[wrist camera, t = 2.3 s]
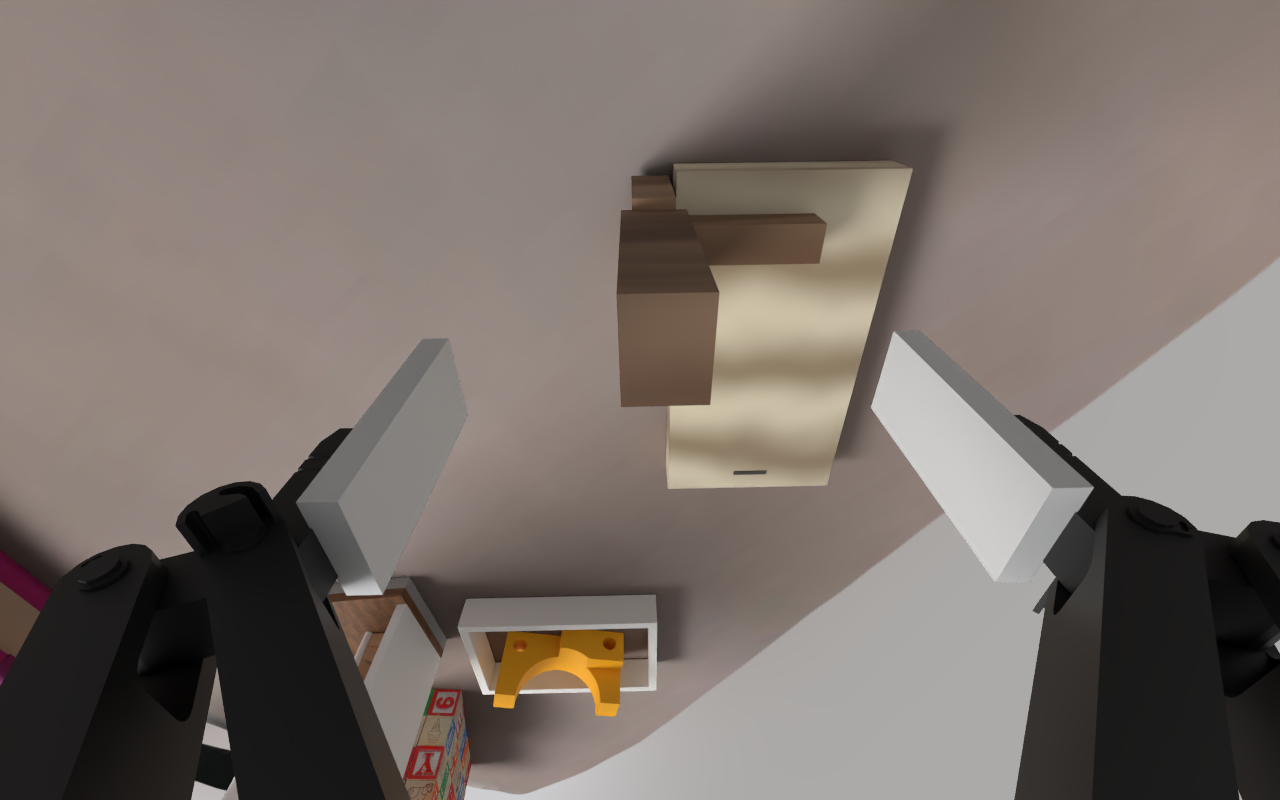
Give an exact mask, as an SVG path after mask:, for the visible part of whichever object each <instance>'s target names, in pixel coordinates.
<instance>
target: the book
mask: <svg viewBox="0 0 1280 800" xmlns="http://www.w3.org/2000/svg"><path fill="white" fill-rule="evenodd" d="M51 592H52V591H51V590H50V589H49V588H48V587H46V586H45V585H44V584H43V583H41V582H40V581H39V580H38V579H36V578H35V577H34V576H32V575H31V574H30V573H29V572H27V571H26V570H25V569H24V568H22V567H21V566H20V565H19V564H17V563H16V562H15V561H14V560H12V559H11V558H10V557H9V556H7V555H6V554H5V553H4V552H2V551H1V550H0V685H1V684H2V682H3V680H4V678H5V676H6V674H7V673H8V671H9V669H10V667H11V665H12V663H13V662H14V660H15V658H16V656H17V654H18V652H19V651H20V649H21V647H22V645H23V643H24V641H25V639H26V638H27V636H28V634H29V632H30V630H31V628H32V627H33V625H34V623H35V621H36V619H37V617H38V616H39V614H40V612H41V610H42V608H43V606H44V605H45V603H46V601H47V599H48V597H49V595H50V593H51Z"/></svg>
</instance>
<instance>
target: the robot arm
mask: <svg viewBox="0 0 1280 800" xmlns="http://www.w3.org/2000/svg"><path fill="white" fill-rule="evenodd" d="M871 409H872V410H873V411H874V413H875V414H876V416H877V417H878V418H879V420H880V421H881V423H882V424H883V425H884V427H885V428H886V430H887V431H888V432H889V434H890V435H891V437H892V438H893V440H894V441H895V442H896V444H897V445H898V447H899V448H900V449H901V451H902V452H903V454H904V455H905V456H906V458H907V459H908V461H909V462H910V463H911V465H912V466H913V468H914V469H915V470H916V472H917V473H918V475H919V476H920V477H921V479H922V480H923V482H924V483H925V484H926V486H927V487H928V489H929V490H930V491H931V493H932V494H933V496H934V497H935V498H936V500H937V501H938V503H939V504H940V505H941V507H942V508H943V510H944V511H945V513H946V514H947V515H948V517H949V518H950V520H951V521H952V522H953V524H954V525H955V527H956V528H957V529H958V531H959V532H960V534H961V535H962V536H963V538H964V539H965V541H966V542H967V543H968V545H969V546H970V547H971V549H972V550H973V552H974V553H975V555H976V556H977V557H978V559H979V560H980V562H981V563H982V564H983V566H984V567H985V569H986V570H987V571H988V573H989V574H990V576H991V577H992V579H993V580H994V581H995V582H1031V581H1032V579H1033V577H1034V576H1035V575H1036V573H1037V572H1038V570H1039V569H1040V567H1041V566H1042V564H1043V563H1045V564H1046V565H1047V567H1048V568H1049V569H1050V570H1051V572H1052V573H1053V574H1054V575H1055V576H1056V578H1055V579H1054V581H1053V582H1052V584H1051V585H1050V586H1049V588H1048V589H1047V591H1046V592H1045V593H1044V595H1043V596H1042V598H1041V599H1040V600H1039V602H1038V603H1037V605H1036V606H1035V608H1034V609H1033V611H1034V612H1036V613H1038V614H1039V613H1040V612H1041V610H1042V609H1043V608H1045V612H1044V619H1043V625H1042V631H1041V637H1040V644H1039V650H1038V656H1037V662H1036V669H1035V675H1034V681H1033V687H1032V694H1031V700H1030V706H1029V712H1028V718H1027V725H1026V731H1025V737H1024V744H1023V750H1022V756H1021V762H1020V768H1019V775H1018V781H1017V787H1016V793H1015V799H1014V800H1239V793H1240V795H1241V797H1242V800H1280V653H1279V652H1278V650H1277V648H1276V646H1275V645H1274V644H1275V643H1276V642H1277V641H1279V640H1280V523H1279V522H1272V521H1265V520H1261V521H1254V522H1251V523H1250V524H1249V525H1248V526H1247V527H1246V528H1245V529H1244V530H1243V531H1242V532H1241V533H1240V534H1239V535H1238V536H1237V537H1236V538H1234V537H1229V536H1223V535H1219V534H1214V533H1209V532H1203V531H1198V530H1197V528H1195V526H1193V525H1192V524H1191V523H1190V522H1189V521H1188V520H1187V519H1186V518H1184V517H1183V516H1181V515H1180V514H1178V513H1176V512H1175V511H1173V510H1172V509H1170V508H1168V507H1165V506H1163V505H1161V504H1158V503H1156V502H1154V501H1151V500H1147V499H1143V498H1139V497H1135V496H1121V495H1120V494H1119V493H1118V492H1116V491H1115V490H1114V489H1113V488H1112V487H1111V486H1109V485H1108V484H1107V483H1106V482H1105V481H1104V480H1102V479H1101V478H1100V477H1099V476H1098V475H1097V474H1096V473H1094V472H1093V471H1092V470H1091V469H1090V468H1089V467H1087V466H1086V465H1085V464H1084V463H1083V462H1082V461H1081V460H1079V459H1078V458H1077V457H1076V456H1072V453H1071V452H1070V451H1069V450H1068V449H1067V448H1065V447H1064V446H1063V445H1062V444H1059V443H1058V442H1059V441H1058V440H1056V439H1055V438H1054V437H1053V436H1052V435H1051V434H1049V433H1048V432H1047V431H1046V430H1045V429H1044V428H1043V427H1041V426H1039V425H1037V424H1035V423H1034V422H1032V421H1030V420H1028V419H1026V418H1024V417H1022V416H1021V415H1013V414H1012V413H1011V412H1010V411H1009V410H1008V409H1006V408H1005V407H1004V406H1003V405H1002V404H1001V403H1000V402H999V401H998V400H996V399H995V398H994V397H993V396H992V395H991V394H990V393H989V392H988V391H986V390H985V389H984V388H983V387H982V386H981V385H980V384H979V383H978V382H976V381H975V380H974V379H973V378H972V377H971V376H970V375H969V374H967V373H966V372H965V371H964V370H963V369H962V368H961V367H960V366H959V365H957V364H956V363H955V362H954V361H953V360H952V359H951V358H950V357H949V356H947V355H946V354H945V353H944V352H943V351H942V350H941V349H940V348H939V347H937V346H936V345H935V344H934V343H933V342H932V341H931V340H930V339H929V338H927V337H926V336H925V335H924V334H923V333H922V332H921V331H920V330H919V331H894V332H893V336H892V339H891V342H890V346H889V349H888V352H887V356H886V359H885V362H884V366H883V369H882V372H881V376H880V379H879V383H878V386H877V389H876V393H875V396H874V399H873V403H872V406H871ZM467 416H468V413H467V409H466V405H465V401H464V397H463V393H462V389H461V385H460V381H459V377H458V373H457V369H456V365H455V361H454V357H453V353H452V349H451V345H450V341H449V338H445V339H422V340H421V342H420V343H419V344H418V346H417V347H416V348H415V350H414V351H413V352H412V353H411V355H410V356H409V357H408V359H407V360H406V361H405V362H404V364H403V365H402V366H401V368H400V369H399V370H398V371H397V373H396V374H395V375H394V377H393V378H392V379H391V380H390V382H389V383H388V384H387V386H386V387H385V388H384V389H383V391H382V392H381V393H380V395H379V396H378V397H377V398H376V400H375V401H374V402H373V404H372V405H371V406H370V407H369V409H368V410H367V411H366V413H365V414H364V415H363V416H362V418H361V419H360V420H359V422H358V423H357V424H356V425H355V427H354V428H342V429H339V430H337V431H336V432H334V433H333V434H331V435H330V436H329V437H327V438H326V439H324V440H323V441H321V442H320V443H319V445H318V446H317V447H316V448H315V449H314V451H313V452H312V453H311V454H310V455H309V459H308V460H305V461H304V462H303V464H302V465H301V466H300V467H299V468H298V472H295V473H294V474H293V476H292V477H291V478H290V479H289V480H288V482H287V483H286V484H285V485H284V486H283V488H282V489H281V490H280V491H279V492H278V494H277V495H276V496H275V497H274V498H273V500H272V499H271V497H270V495H269V494H268V492H267V490H266V489H265V488H264V487H263V486H262V485H261V484H260V483H255V482H251V481H247V482H236V483H232V484H228V485H225V486H221V487H218V488H216V489H214V490H212V491H210V492H208V493H205V494H203V495H201V496H200V497H199V498H197V499H196V500H194V501H193V502H192V503H190V504H189V505H187V506H186V508H185V509H184V510H183V511H182V512H181V513H180V515H179V516H178V519H177V522H176V527H177V529H178V530H179V531H180V533H181V534H182V535H183V536H184V538H185V539H186V540H187V542H188V543H189V544H190V546H191V547H192V548H193V550H194V551H193V552H189V553H185V554H181V555H177V556H173V557H169V558H165V559H161V560H159V559H158V557H157V556H156V555H155V554H154V553H153V551H152V550H151V549H149V548H148V547H147V546H146V545H140V544H129V545H124V546H119V547H115V548H112V549H109V550H107V551H104V552H101V553H99V554H96V555H94V556H92V557H90V558H89V559H87V560H85V561H83V562H82V563H80V564H79V565H77V566H76V567H75V568H73V569H72V570H71V571H70V572H68V573H67V574H66V575H65V576H63V577H62V578H61V580H60V581H59V582H58V583H57V585H56V586H55V587H54V588H53V590H52V592H51V593H50V595H49V597H48V599H47V601H46V603H45V605H44V606H43V608H42V610H41V612H40V614H39V616H38V617H37V619H36V621H35V623H34V625H33V627H32V628H31V630H30V632H29V634H28V636H27V638H26V639H25V641H24V643H23V645H22V647H21V649H20V651H19V652H18V654H17V656H16V658H15V660H14V662H13V663H12V665H11V667H10V669H9V671H8V673H7V674H6V676H5V678H4V680H3V682H2V684H1V685H0V800H191V797H192V792H193V787H194V782H195V777H196V771H197V766H198V761H199V756H200V751H201V746H202V741H203V736H204V730H205V725H206V720H207V715H208V710H209V705H210V700H211V695H212V689H213V684H214V679H215V674H216V669H217V668H218V674H219V681H220V687H221V693H222V699H223V706H224V712H225V718H226V724H227V731H228V737H229V743H230V749H231V756H232V762H233V768H234V774H235V780H236V787H237V793H238V799H239V800H411V799H410V797H409V794H408V792H407V789H406V787H405V784H404V782H403V779H402V777H401V774H400V772H399V769H398V767H397V764H396V762H395V759H394V757H393V754H392V752H391V749H390V747H389V744H388V742H387V739H386V737H385V734H384V732H383V729H382V727H381V724H380V722H379V719H378V717H377V714H376V712H375V709H374V706H373V704H372V701H371V699H370V696H369V694H368V691H367V689H366V686H365V684H364V681H363V679H362V676H361V674H360V671H359V669H358V666H357V664H356V661H355V659H354V656H353V654H352V651H351V649H350V646H349V644H348V641H347V639H346V636H345V634H344V631H343V629H342V626H341V624H340V621H339V619H338V616H337V614H336V611H335V609H334V606H333V604H332V602H331V600H330V598H329V597H328V593H329V591H330V590H331V588H332V586H333V584H334V583H335V581H336V579H338V581H339V583H340V584H341V586H342V588H343V590H344V592H345V594H346V595H347V596H351V595H383V593H384V591H385V589H386V587H387V585H388V583H389V580H390V578H391V576H392V574H393V572H394V570H395V568H396V566H397V564H398V561H399V559H400V557H401V555H402V553H403V551H404V549H405V547H406V545H407V543H408V540H409V538H410V536H411V534H412V532H413V530H414V528H415V526H416V524H417V521H418V519H419V517H420V515H421V513H422V511H423V509H424V507H425V505H426V502H427V500H428V498H429V496H430V494H431V492H432V490H433V488H434V486H435V483H436V481H437V479H438V477H439V475H440V473H441V471H442V469H443V467H444V464H445V462H446V460H447V458H448V456H449V454H450V452H451V450H452V448H453V445H454V443H455V441H456V439H457V437H458V435H459V433H460V431H461V429H462V426H463V424H464V422H465V420H466V418H467ZM1238 790H1239V793H1238Z"/></svg>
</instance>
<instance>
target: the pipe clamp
mask: <svg viewBox="0 0 1280 800" xmlns="http://www.w3.org/2000/svg"><path fill="white" fill-rule="evenodd" d="M623 662H624V633H619V632H610V631H600V630H591V629H587V630H562V633H561V636H556V635H547V634H537V633H527V632H517V631H508V633H507V638H506V643H505V647H504V652H503V657H502V661H501V666H500V671H499V675H498V680H497V685H496V689H495V694H494V704H493V707H501V708H514V704H515V701H516V698H517V696H518V694H519V692H520V691H521V689H522V688H523V686H524V685H525V684H526V683H527V682H528V681H529V680H530V679H532V678H533V677H535V676H536V675H538V674H540V673H543V672H546V671H551V670H562V671H567V672H570V673H572V674H574V675H576V676H578V677H579V678H580V679H581V680H583V681H584V682H585V684H586V685H587V686H588V688H589V689H590V691H591V693H592V695H593V698H594V701H595V706H596V715H601V716H613V717H615V716H616V713H617V710H618V708H619V705H620V670H621V668H622V665H623Z"/></svg>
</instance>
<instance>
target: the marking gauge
mask: <svg viewBox="0 0 1280 800" xmlns="http://www.w3.org/2000/svg"><path fill="white" fill-rule="evenodd" d="M826 228H827V223H826V222H825V221H824V220H822V219H821V218H820V217H819V216H817V215H816V214H815V213H801V214H739V215H689V214H688V211H687V209H676V196H675V193H674V190H673V187H672V185H671V182H670V179H669V176H668V175H665V176H632V210H621V225H620V243H619V261H618V280H617V314H618V340H619V365H620V390H621V407H637V406H689V405H710V402H711V390H712V378H713V366H714V353H715V341H716V329H717V317H718V305H719V293H720V292H719V290H718V287H717V285H716V282H715V279H714V277H713V274H712V272H711V269H710V267H709V266H716V265H775V264H820V258H821V253H822V248H823V243H824V238H825V233H826Z"/></svg>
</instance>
